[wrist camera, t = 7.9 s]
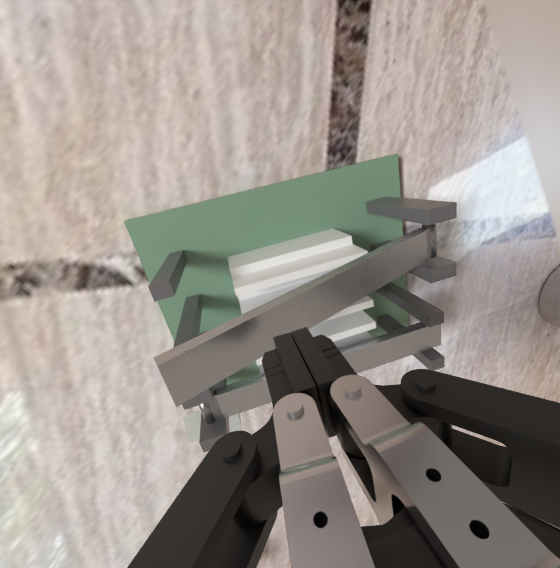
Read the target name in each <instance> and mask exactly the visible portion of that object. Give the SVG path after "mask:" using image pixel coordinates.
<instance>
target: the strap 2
mask: <svg viewBox="0 0 560 568" xmlns="http://www.w3.org/2000/svg"><path fill="white" fill-rule="evenodd" d="M439 345H441V324H439V325H436V326H433V327H428V326H427V325H425V324H424V323H422V322H420V323H417V324H414V325H411V326H407V327H404V328H401V329H398V330H395V331H392V332H389V333H386V334H383V335H380V336H377V337H374V338H370V339H367V340H364V341H361V342H358V343H355V344H352V345H349V346H346V347H343V348H340V349H339V351H340V352H341V354H342V355H343V356H344V357H345V359H346V360H347V361H348V363H349V364H350V365H351V367H352V368H353V369H354V371H355V372H356V373H359V372H362V371H365V370H368V369H371V368H374V367H377V366H380V365H383V364H386V363H389V362H392V361H395V360H398V359H401V358H404V357H407V356H410V355H413V354H416V353H419V352H422V351H425V350H428V349H431V348H433V347H436V346H439ZM270 402H272V400H271V396H270V392H269V388H268V384H267V380H266V377H265V373H263V374H259V375H256V376H253V377H250V378H247V379H244V380H241V381H238V382H235V383H232V384H229V385H225V386H222V387H219V388H216V389H215V390H213V400H212V401H209V402H206V403H203V404H200V405H199V407H200V410H201V412H202V414H203V417H204V419H205V422H206V423H207V424H213V423H214V422H215V421H216V420H217V419H220V418H223V417H224V418H226V417H229V416H232V415H235V414H238V413H241V412H244V411H247V410H250V409H253V408H256V407H259V406H262V405H265V404H268V403H270Z"/></svg>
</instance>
